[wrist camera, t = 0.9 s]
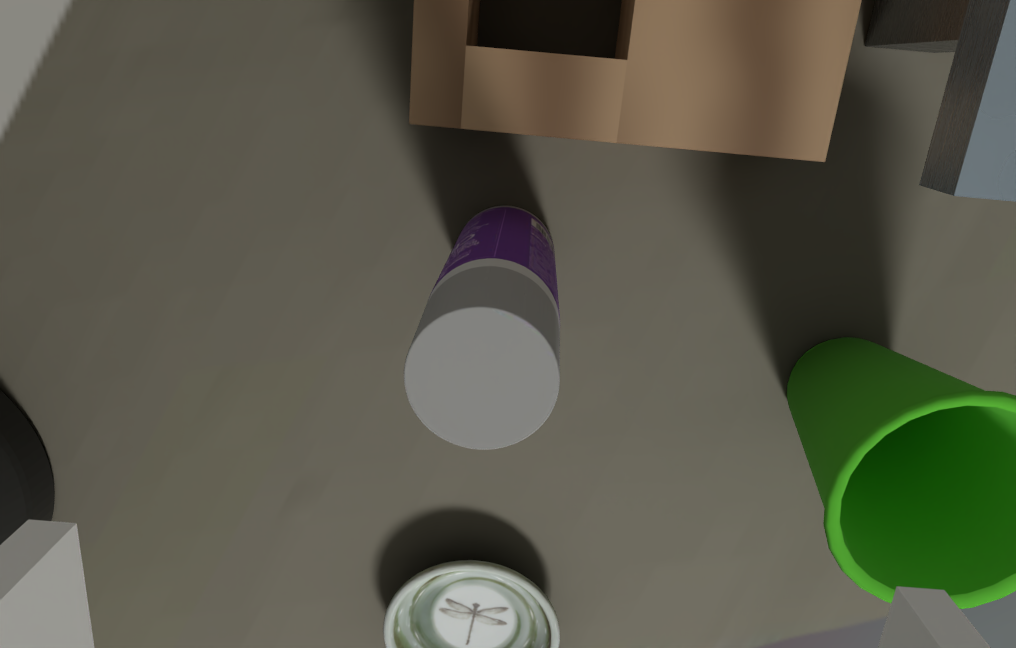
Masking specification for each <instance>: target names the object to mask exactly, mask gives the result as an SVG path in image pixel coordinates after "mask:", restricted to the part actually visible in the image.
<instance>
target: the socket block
mask: <svg viewBox="0 0 1016 648" xmlns="http://www.w3.org/2000/svg"><path fill="white" fill-rule="evenodd" d="M861 1H862V0H622V5H621V13H620V21H619V29H618V36H617V44H616V52H615V59H610V58H599V57H588V56H577V55H566V54H555V53H544V52H533V51H522V50H511V49H500V48H489V47H478V46H477V40H478V25H479V10H480V0H414V11H413V37H412V62H411V88H410V113H409V124H416V125H427V126H438V127H448V128H459V129H470V130H481V131H492V132H503V133H514V134H525V135H536V136H547V137H557V138H568V139H579V140H590V141H601V142H612V143H623V144H634V145H645V146H656V147H666V148H677V149H688V150H699V151H710V152H721V153H732V154H743V155H754V156H765V157H775V158H786V159H797V160H808V161H819V162H825V160H826V156H827V151H828V147H829V142H830V138H831V133H832V129H833V125H834V120H835V116H836V111H837V107H838V102H839V98H840V94H841V89H842V85H843V80H844V76H845V72H846V67H847V63H848V58H849V54H850V49H851V45H852V41H853V36H854V32H855V27H856V23H857V18H858V14H859V10H860V5H861Z"/></svg>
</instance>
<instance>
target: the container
mask: <svg viewBox="0 0 1016 648" xmlns="http://www.w3.org/2000/svg"><path fill="white" fill-rule="evenodd" d="M404 384H405V390H406V394H407V397H408V400H409V402H410V405H411V407H412V409H413V410H414V412H415V414H416V415H417V416H418V418H419V419H420V420H421V421H422V423H423V424H424V425H425V426H426V427H427V428H428V429H430V430H431V431H432V432H433V433H435V434H436V435H438V436H439V437H441V438H443V439H444V440H446V441H448V442H451V443H453V444H456V445H459V446H462V447H466V448H472V449H496V448H502V447H506V446H509V445H512V444H515V443H517V442H519V441H521V440H523V439H525V438H527V437H528V436H530V435H531V434H532V433H534V432H535V431H536V430H537V429H538V428H539V427H540V426H541V425H542V424H543V423H544V422H545V421H546V419H547V418H548V416H549V415H550V413H551V411H552V410H553V407H554V405H555V403H556V400H557V396H558V392H559V384H560V314H559V302H558V290H557V278H556V265H555V253H554V246H553V242H552V238H551V236H550V234H549V232H548V230H547V228H546V227H545V225H544V224H543V223H542V222H541V221H540V220H539V219H538V218H537V217H536V216H535V215H533V214H532V213H530V212H529V211H527V210H524V209H522V208H519V207H515V206H506V205H504V206H495V207H491V208H488V209H485V210H483V211H481V212H480V213H478V214H476V215H475V216H474V217H473V218H472V219H471V220H470V221H469V222H468V223H467V224H466V225H465V227H464V228H463V230H462V232H461V233H460V235H459V237H458V239H457V241H456V243H455V246H454V248H453V250H452V252H451V254H450V256H449V258H448V260H447V262H446V264H445V266H444V268H443V270H442V272H441V274H440V276H439V278H438V280H437V282H436V284H435V286H434V288H433V290H432V292H431V294H430V297H429V299H428V302H427V305H426V308H425V310H424V313H423V315H422V318H421V320H420V323H419V326H418V328H417V331H416V333H415V336H414V338H413V341H412V343H411V346H410V349H409V351H408V354H407V357H406V361H405V367H404Z"/></svg>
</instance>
